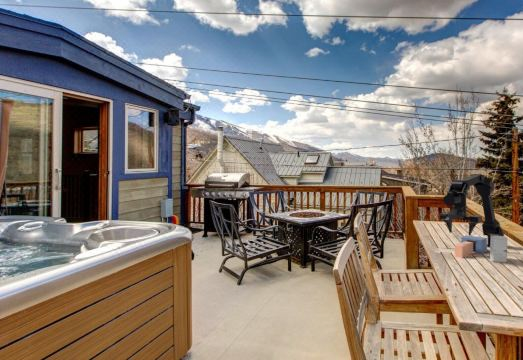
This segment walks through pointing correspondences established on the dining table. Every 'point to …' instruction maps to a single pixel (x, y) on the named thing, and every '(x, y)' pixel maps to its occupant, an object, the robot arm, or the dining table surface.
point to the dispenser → (476, 243)
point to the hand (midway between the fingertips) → (459, 233)
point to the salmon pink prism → (464, 249)
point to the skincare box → (498, 248)
